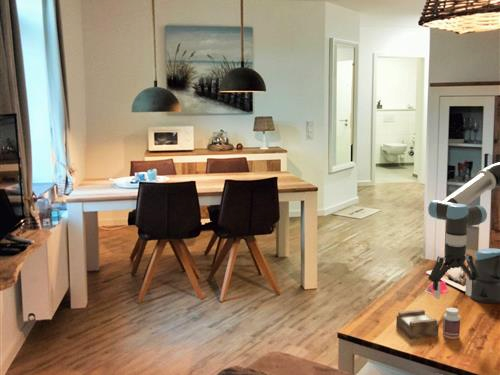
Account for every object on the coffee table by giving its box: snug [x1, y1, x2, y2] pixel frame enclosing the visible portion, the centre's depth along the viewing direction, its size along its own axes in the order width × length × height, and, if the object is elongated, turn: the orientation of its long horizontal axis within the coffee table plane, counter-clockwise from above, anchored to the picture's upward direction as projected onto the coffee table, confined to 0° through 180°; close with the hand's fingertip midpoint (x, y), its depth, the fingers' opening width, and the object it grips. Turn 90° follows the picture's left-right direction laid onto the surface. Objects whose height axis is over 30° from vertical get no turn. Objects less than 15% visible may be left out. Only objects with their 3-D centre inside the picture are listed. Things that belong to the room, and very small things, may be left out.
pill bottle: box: [442, 307, 461, 340], centre depth 213 cm, size 6×6×11 cm
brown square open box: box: [395, 309, 440, 340], centre depth 218 cm, size 12×12×6 cm
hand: (452, 296), depth 211 cm, fingers open, 13 cm apart
